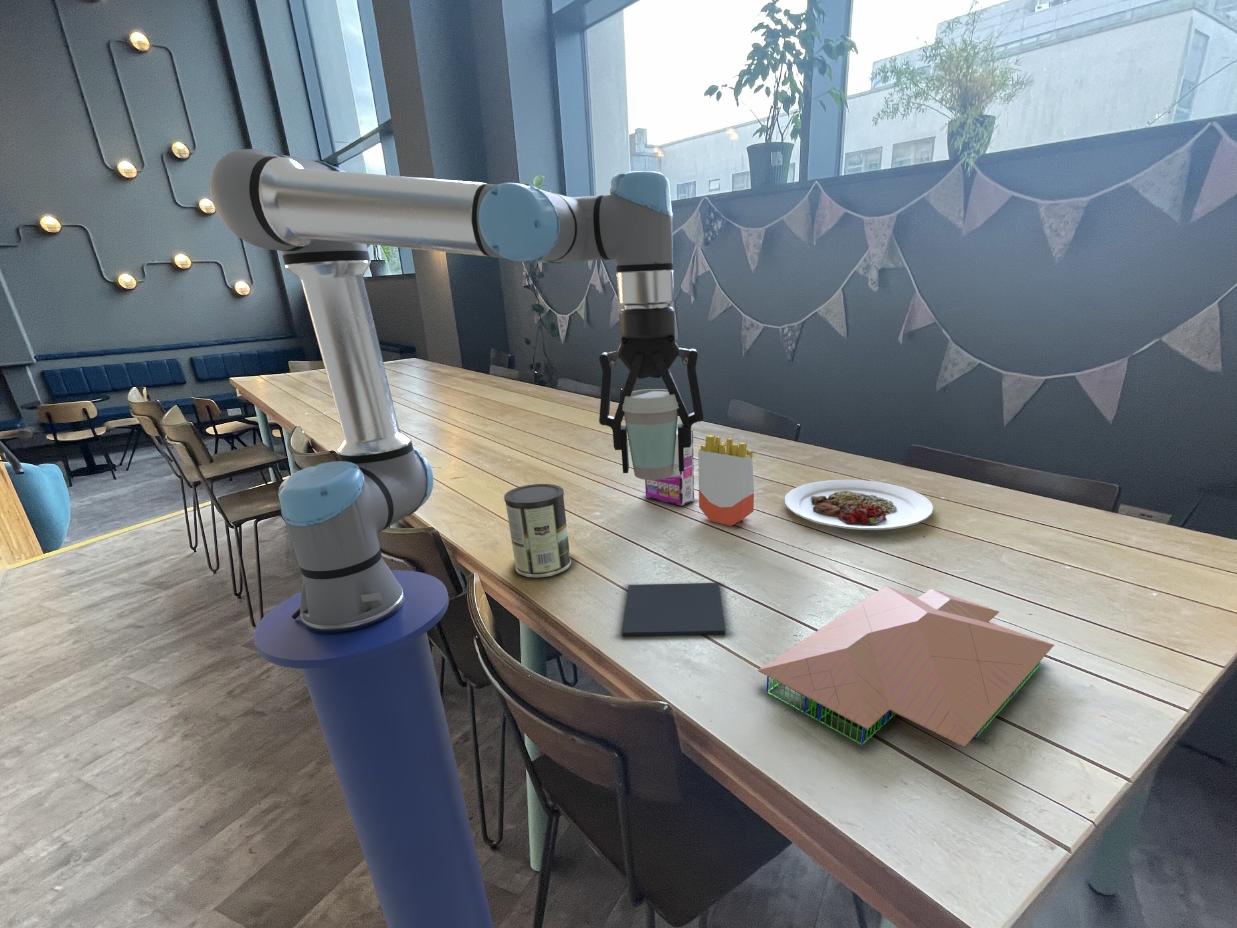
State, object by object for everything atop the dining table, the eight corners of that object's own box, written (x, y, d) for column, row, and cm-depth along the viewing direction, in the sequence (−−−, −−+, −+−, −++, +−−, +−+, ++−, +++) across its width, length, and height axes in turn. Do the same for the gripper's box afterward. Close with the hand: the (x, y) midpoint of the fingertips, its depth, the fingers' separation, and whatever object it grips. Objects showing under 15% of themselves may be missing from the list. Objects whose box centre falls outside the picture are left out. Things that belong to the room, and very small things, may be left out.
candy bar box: (695, 500, 141) (694, 430, 134) (682, 507, 137) (680, 434, 130) (658, 491, 147) (655, 424, 141) (644, 497, 144) (641, 428, 137)
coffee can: (549, 549, 119) (541, 479, 113) (582, 564, 112) (575, 491, 106) (503, 566, 112) (492, 494, 107) (535, 583, 106) (525, 507, 100)
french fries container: (711, 511, 134) (710, 430, 126) (754, 521, 127) (756, 436, 120) (698, 518, 131) (697, 434, 123) (742, 528, 124) (744, 441, 117)
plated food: (867, 480, 149) (869, 466, 147) (965, 521, 123) (968, 505, 122) (759, 499, 140) (759, 485, 138) (839, 547, 114) (841, 531, 112)
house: (1055, 657, 80) (1070, 603, 77) (939, 794, 60) (952, 729, 57) (892, 598, 96) (898, 551, 92) (757, 691, 76) (759, 636, 73)
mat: (622, 636, 89) (621, 632, 89) (629, 587, 103) (629, 584, 103) (725, 634, 89) (725, 630, 88) (718, 585, 102) (718, 582, 102)
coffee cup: (670, 463, 97) (668, 386, 92) (690, 478, 90) (688, 395, 85) (618, 470, 95) (613, 391, 90) (634, 486, 87) (629, 401, 82)
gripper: (720, 302, 86) (720, 460, 95) (574, 308, 86) (588, 464, 96) (724, 304, 79) (724, 474, 88) (566, 311, 79) (582, 479, 89)
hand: (653, 469), depth 92 cm, fingers closed on coffee cup, 8 cm apart
